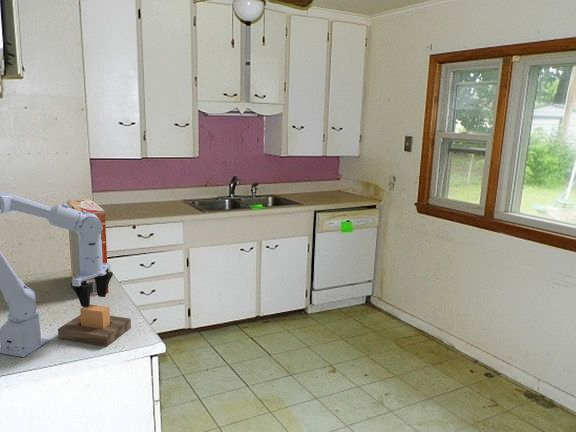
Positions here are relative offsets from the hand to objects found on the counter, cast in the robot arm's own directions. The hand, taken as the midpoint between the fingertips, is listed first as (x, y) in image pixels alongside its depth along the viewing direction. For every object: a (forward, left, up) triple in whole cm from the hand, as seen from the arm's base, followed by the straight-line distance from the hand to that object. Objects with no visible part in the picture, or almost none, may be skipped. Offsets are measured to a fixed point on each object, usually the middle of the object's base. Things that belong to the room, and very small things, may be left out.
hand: (93, 301), depth 133 cm
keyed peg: (0, 0, -10) cm, 10 cm away
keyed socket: (0, 0, -10) cm, 10 cm away
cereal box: (+33, +25, -10) cm, 43 cm away
